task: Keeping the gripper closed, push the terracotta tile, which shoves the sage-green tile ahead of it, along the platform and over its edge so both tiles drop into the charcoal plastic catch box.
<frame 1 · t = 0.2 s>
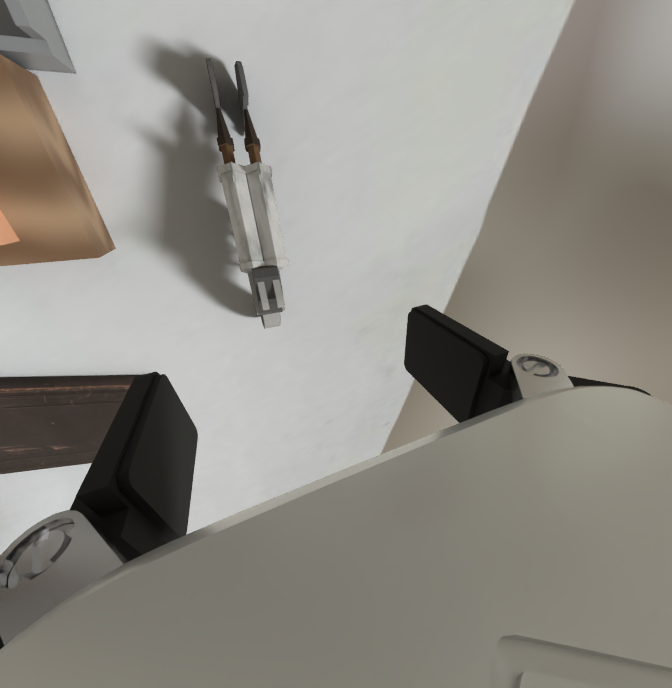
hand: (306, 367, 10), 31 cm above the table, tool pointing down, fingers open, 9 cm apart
hardcover book: (64, 416, 39), on the table
gun: (250, 220, 34), on the table
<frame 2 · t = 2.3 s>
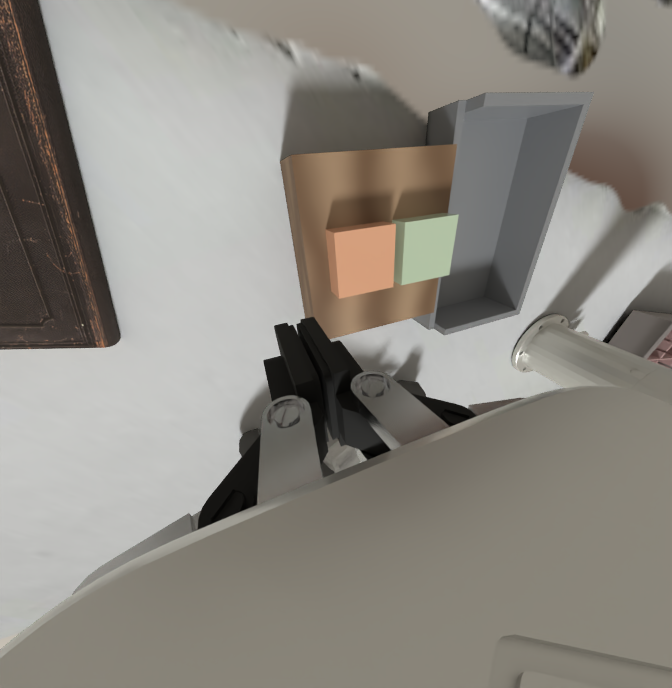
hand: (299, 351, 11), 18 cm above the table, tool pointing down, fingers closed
organizer tray: (603, 375, 71), on the table
platform: (358, 244, 29), on the table
tile 1: (415, 246, 25), point 5 cm above the table, touching platform
gun: (332, 407, 40), on the table
tile 2: (356, 257, 24), point 5 cm above the table, touching platform
catch box: (462, 227, 32), on the table
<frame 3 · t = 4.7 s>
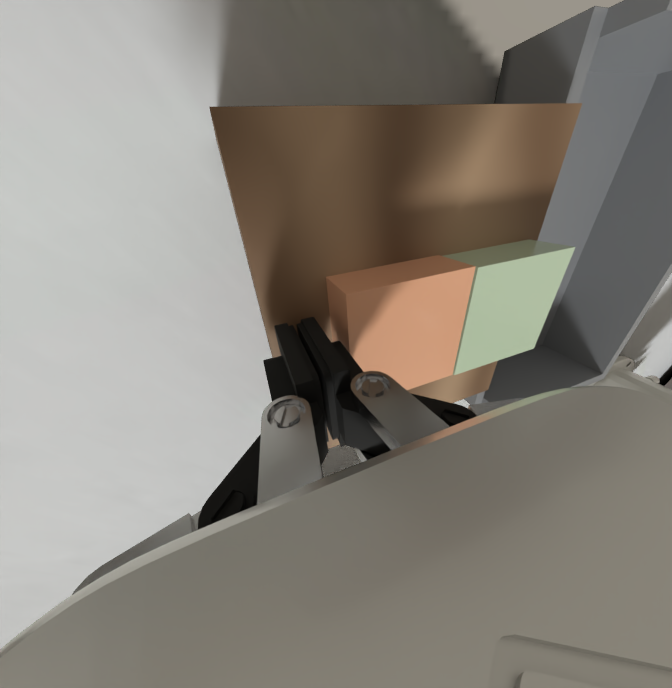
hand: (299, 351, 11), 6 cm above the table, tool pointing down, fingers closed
platform: (370, 285, 17), on the table
tile 1: (475, 299, 14), point 5 cm above the table, touching platform
tile 2: (384, 321, 13), point 5 cm above the table, touching gripper, platform
catch box: (528, 252, 21), on the table
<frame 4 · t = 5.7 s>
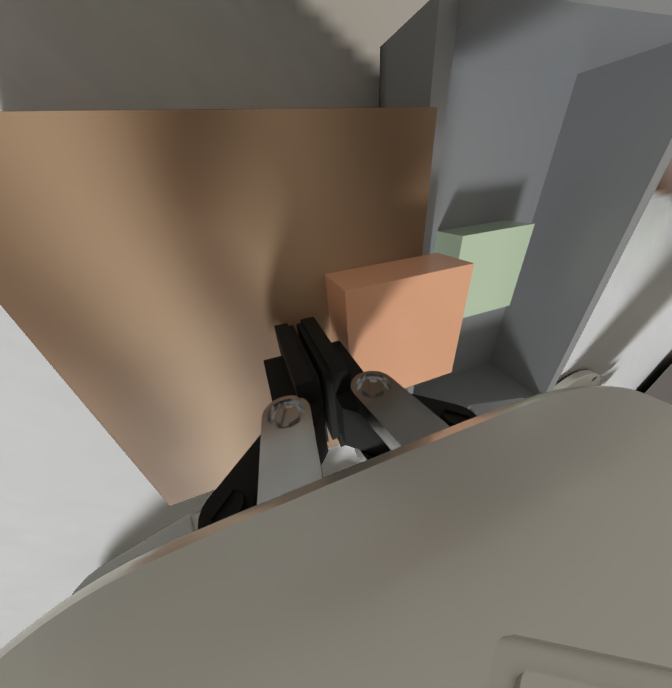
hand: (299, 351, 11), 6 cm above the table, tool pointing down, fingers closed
organizer tray: (629, 422, 58), on the table
platform: (262, 308, 15), on the table
tile 1: (489, 275, 17), point 3 cm above the table, tilted 180°, touching catch box
tile 2: (383, 319, 13), point 5 cm above the table, touching gripper, platform
catch box: (455, 268, 19), on the table
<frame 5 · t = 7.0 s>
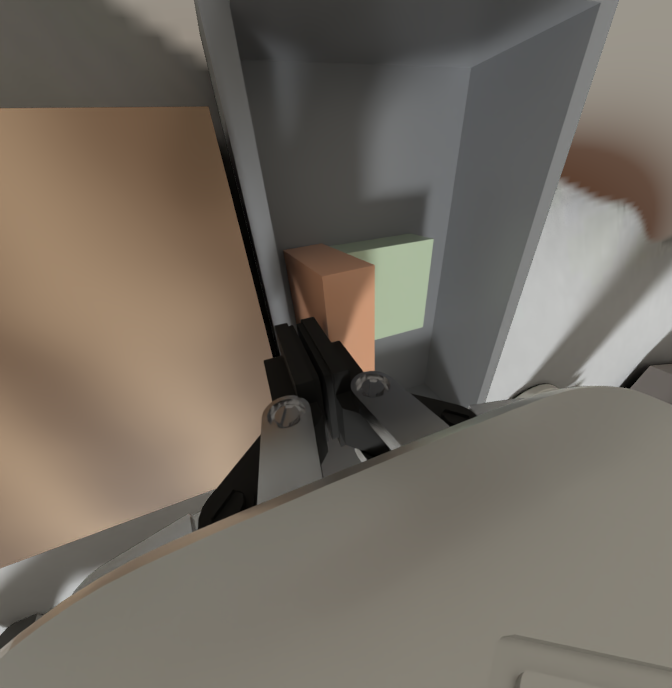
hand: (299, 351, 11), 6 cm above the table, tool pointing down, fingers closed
organizer tray: (606, 431, 56), on the table
platform: (118, 336, 13), on the table
tile 1: (387, 296, 15), point 3 cm above the table, tilted 180°, touching catch box
gun: (191, 551, 25), on the table
tile 2: (307, 316, 13), point 4 cm above the table, tilted 94°, touching catch box, gripper
catch box: (363, 286, 17), on the table
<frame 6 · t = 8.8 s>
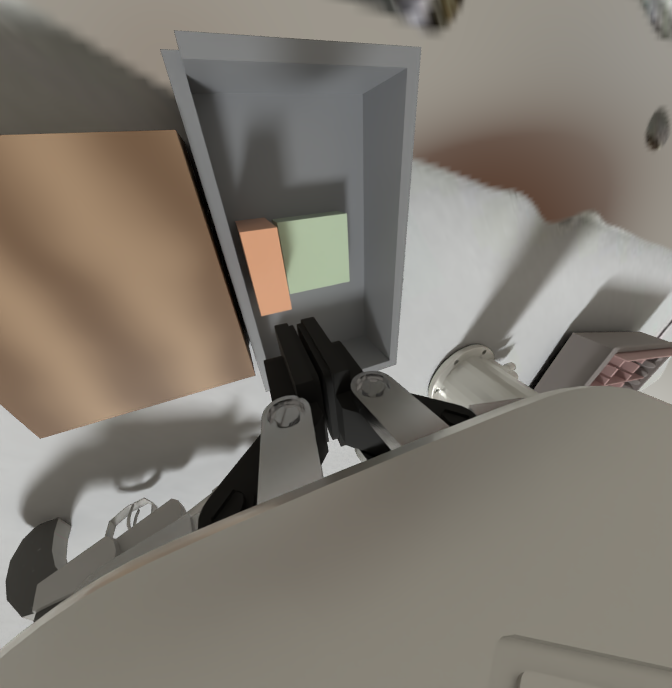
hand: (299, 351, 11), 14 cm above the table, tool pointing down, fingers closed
organizer tray: (550, 396, 64), on the table
platform: (120, 283, 19), on the table
tile 1: (317, 255, 21), point 3 cm above the table, tilted 180°, touching catch box
gun: (181, 476, 31), on the table
tile 2: (247, 267, 19), point 3 cm above the table, tilted 89°, touching catch box
catch box: (304, 251, 23), on the table
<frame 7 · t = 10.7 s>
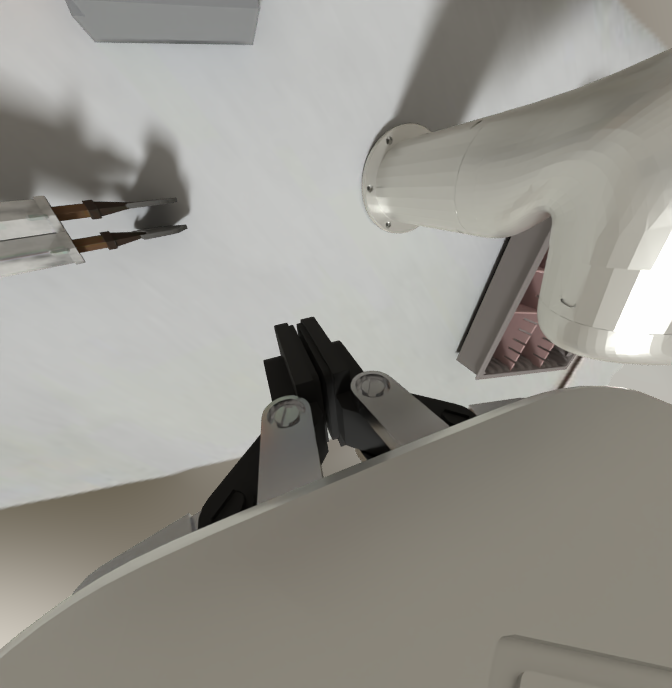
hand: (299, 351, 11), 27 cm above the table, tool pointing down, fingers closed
organizer tray: (535, 277, 56), on the table
gun: (32, 231, 26), on the table
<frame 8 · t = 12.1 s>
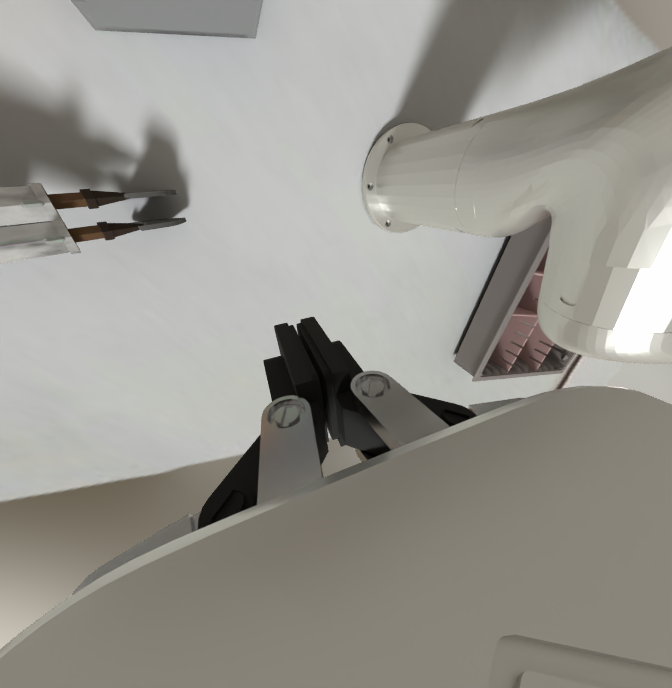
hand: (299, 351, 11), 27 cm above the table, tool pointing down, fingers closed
organizer tray: (533, 281, 56), on the table
gun: (27, 220, 25), on the table
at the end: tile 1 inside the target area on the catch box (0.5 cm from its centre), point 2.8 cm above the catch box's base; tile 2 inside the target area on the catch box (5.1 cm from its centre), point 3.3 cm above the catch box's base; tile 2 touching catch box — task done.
